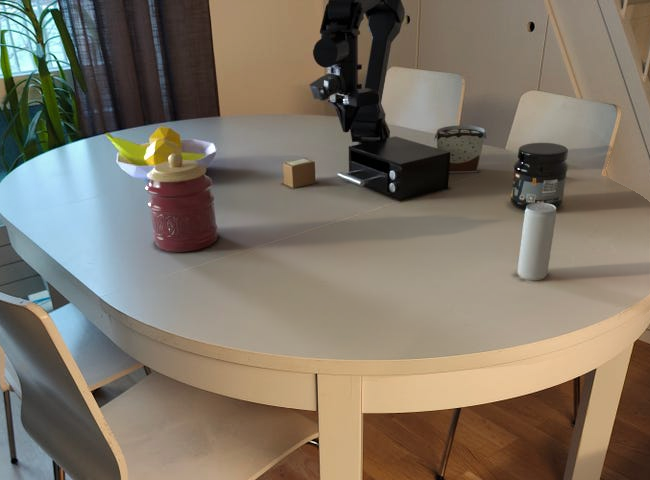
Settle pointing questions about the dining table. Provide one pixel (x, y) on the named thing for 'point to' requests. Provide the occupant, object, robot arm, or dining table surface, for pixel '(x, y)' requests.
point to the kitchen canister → (181, 205)
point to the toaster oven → (405, 166)
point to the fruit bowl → (160, 151)
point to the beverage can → (536, 241)
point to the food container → (461, 146)
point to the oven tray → (368, 175)
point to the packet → (299, 172)
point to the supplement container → (539, 175)
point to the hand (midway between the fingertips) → (345, 132)
